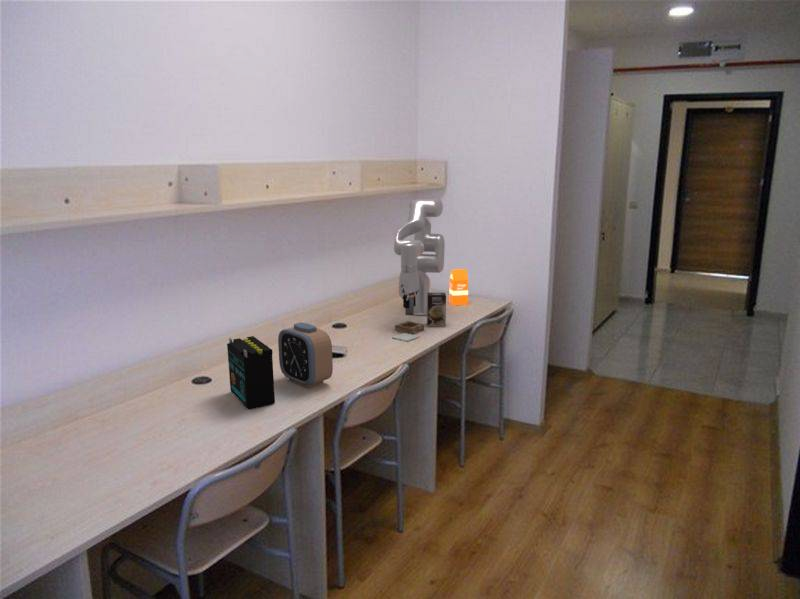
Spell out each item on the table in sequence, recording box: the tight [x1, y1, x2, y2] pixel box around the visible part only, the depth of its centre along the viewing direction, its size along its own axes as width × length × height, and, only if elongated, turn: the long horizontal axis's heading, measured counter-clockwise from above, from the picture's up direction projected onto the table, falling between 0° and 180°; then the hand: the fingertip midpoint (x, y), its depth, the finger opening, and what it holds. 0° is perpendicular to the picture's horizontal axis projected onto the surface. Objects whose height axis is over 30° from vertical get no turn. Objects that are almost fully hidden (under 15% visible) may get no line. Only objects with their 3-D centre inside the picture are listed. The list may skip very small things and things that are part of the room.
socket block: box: [394, 320, 425, 335], centre depth 293 cm, size 10×10×3 cm
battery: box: [226, 335, 276, 410], centre depth 211 cm, size 19×10×20 cm, turn 32°
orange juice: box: [448, 268, 469, 307], centre depth 344 cm, size 8×9×20 cm
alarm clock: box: [277, 322, 334, 389], centre depth 225 cm, size 21×10×22 cm, turn 45°
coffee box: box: [426, 292, 447, 328], centre depth 301 cm, size 9×6×16 cm
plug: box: [404, 293, 415, 316], centre depth 290 cm, size 4×4×10 cm
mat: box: [391, 333, 420, 342], centre depth 282 cm, size 9×9×1 cm
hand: (409, 306), depth 291 cm, fingers closed on plug, 4 cm apart
